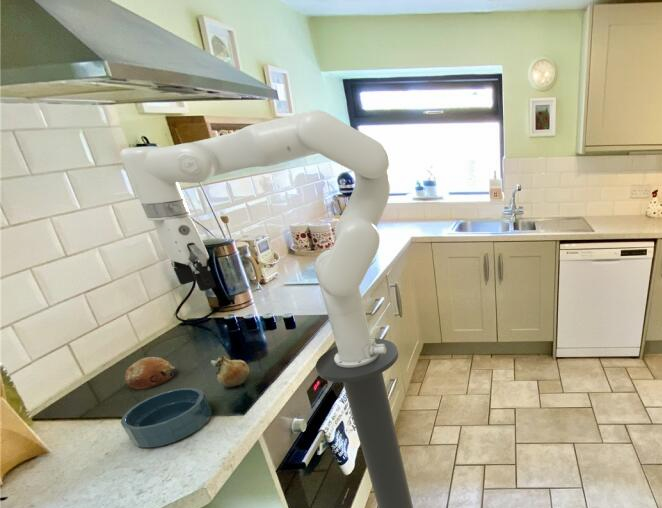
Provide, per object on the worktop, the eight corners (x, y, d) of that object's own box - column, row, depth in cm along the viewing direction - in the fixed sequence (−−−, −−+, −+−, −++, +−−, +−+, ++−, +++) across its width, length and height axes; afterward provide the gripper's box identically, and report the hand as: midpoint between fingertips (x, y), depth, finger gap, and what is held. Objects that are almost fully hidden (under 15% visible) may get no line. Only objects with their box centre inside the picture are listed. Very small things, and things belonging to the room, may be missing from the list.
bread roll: (165, 380, 119) (143, 358, 116) (188, 367, 115) (165, 344, 112) (133, 401, 110) (108, 377, 107) (157, 387, 107) (132, 363, 104)
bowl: (227, 406, 99) (218, 387, 97) (179, 450, 86) (167, 429, 84) (170, 406, 100) (160, 387, 98) (115, 449, 88) (101, 428, 85)
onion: (220, 396, 103) (207, 369, 100) (220, 381, 109) (208, 355, 106) (254, 386, 107) (243, 359, 103) (252, 372, 113) (242, 346, 109)
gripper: (205, 209, 87) (234, 286, 95) (169, 204, 96) (198, 275, 104) (164, 216, 82) (198, 297, 90) (129, 210, 90) (163, 285, 98)
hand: (198, 285), depth 97 cm, fingers open, 9 cm apart
